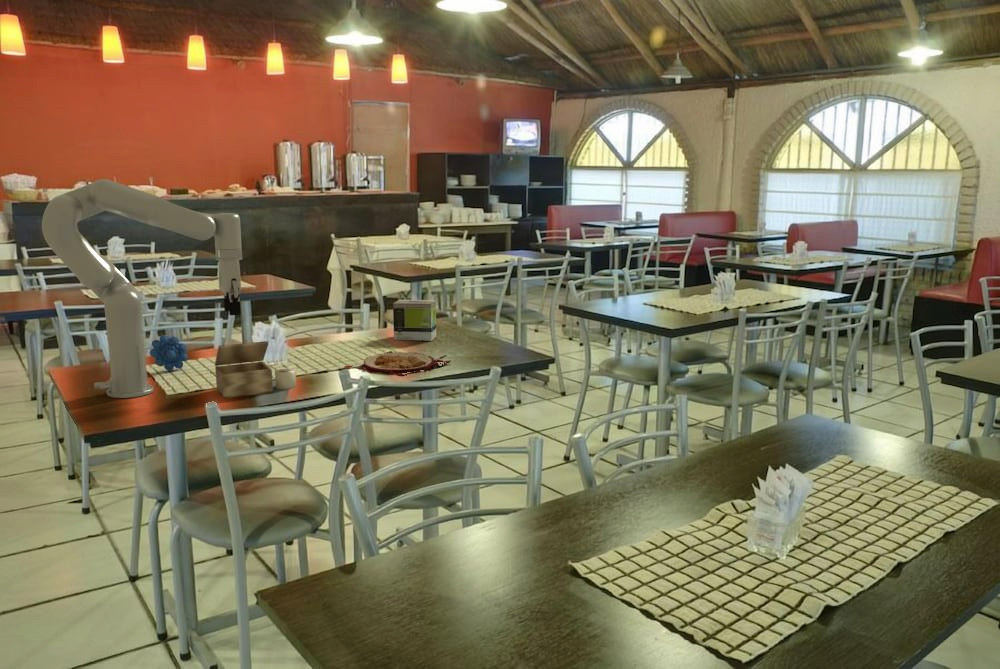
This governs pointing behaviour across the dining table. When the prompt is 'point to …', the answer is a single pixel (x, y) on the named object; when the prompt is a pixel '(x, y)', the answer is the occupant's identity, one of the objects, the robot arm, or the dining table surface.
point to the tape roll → (285, 378)
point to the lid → (241, 353)
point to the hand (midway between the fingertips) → (232, 312)
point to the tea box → (414, 320)
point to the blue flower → (169, 352)
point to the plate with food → (398, 362)
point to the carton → (243, 379)
